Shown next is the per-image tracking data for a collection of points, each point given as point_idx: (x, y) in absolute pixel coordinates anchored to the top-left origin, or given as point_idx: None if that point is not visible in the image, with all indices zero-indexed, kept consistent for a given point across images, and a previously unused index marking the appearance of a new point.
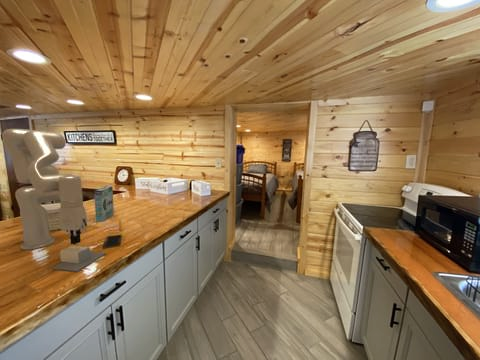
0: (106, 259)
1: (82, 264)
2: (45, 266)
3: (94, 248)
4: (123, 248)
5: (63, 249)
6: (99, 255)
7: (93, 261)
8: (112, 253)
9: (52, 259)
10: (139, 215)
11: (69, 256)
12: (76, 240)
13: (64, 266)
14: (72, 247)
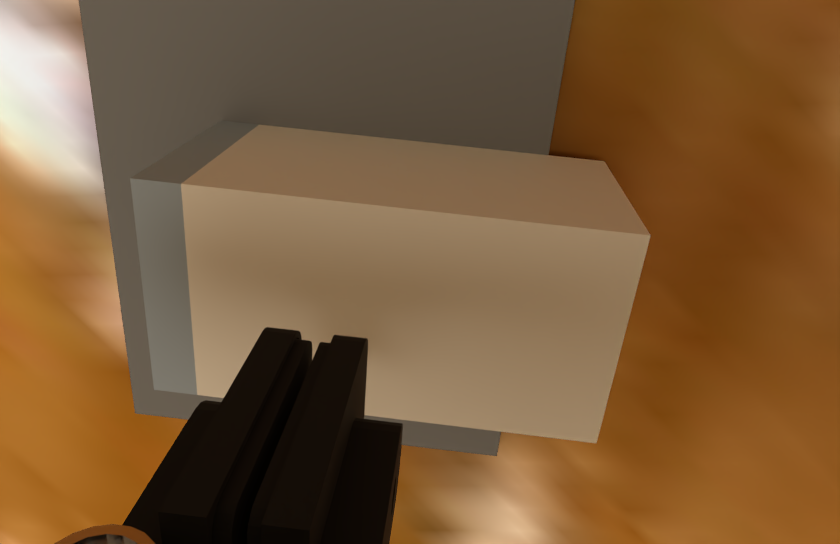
0: (4, 271)
1: (170, 93)
2: (785, 33)
3: (434, 526)
4: (53, 522)
5: (627, 303)
6: None
7: (113, 202)
8: (74, 414)
9: (832, 246)
10: None
11: (418, 175)
12: (197, 424)
13: (407, 11)
14: (505, 385)
